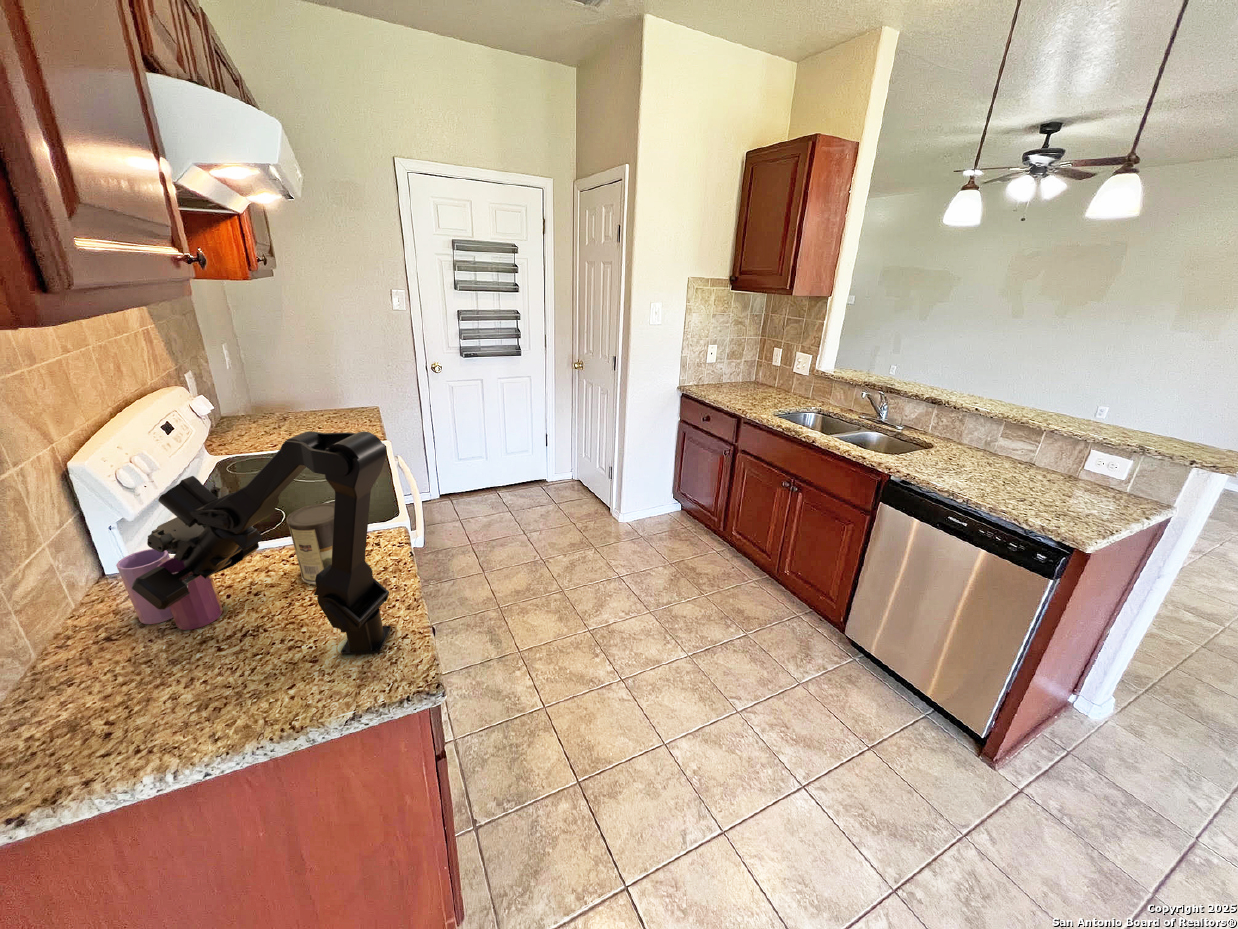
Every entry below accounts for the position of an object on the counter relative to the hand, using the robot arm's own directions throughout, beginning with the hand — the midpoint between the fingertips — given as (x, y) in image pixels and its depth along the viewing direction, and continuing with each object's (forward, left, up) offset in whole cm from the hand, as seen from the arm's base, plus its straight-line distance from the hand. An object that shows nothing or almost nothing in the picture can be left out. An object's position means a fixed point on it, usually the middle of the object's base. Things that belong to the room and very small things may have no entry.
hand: (183, 587), depth 89 cm
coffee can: (+14, -18, -7) cm, 24 cm away
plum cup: (0, -1, -7) cm, 7 cm away
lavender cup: (+2, +6, -7) cm, 9 cm away
